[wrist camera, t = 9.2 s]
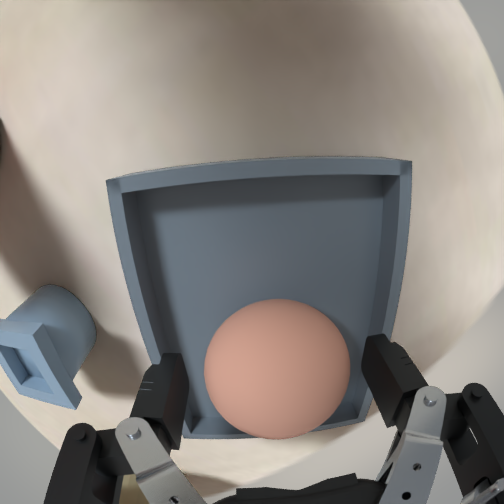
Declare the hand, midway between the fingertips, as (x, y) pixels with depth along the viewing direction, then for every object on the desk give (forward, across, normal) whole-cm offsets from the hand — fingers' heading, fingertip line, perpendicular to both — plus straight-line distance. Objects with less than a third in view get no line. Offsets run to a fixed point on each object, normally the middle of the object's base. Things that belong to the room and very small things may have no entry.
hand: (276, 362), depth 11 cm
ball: (+3, 0, 0) cm, 3 cm away
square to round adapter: (+4, +13, 0) cm, 13 cm away
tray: (+4, 0, 0) cm, 4 cm away
